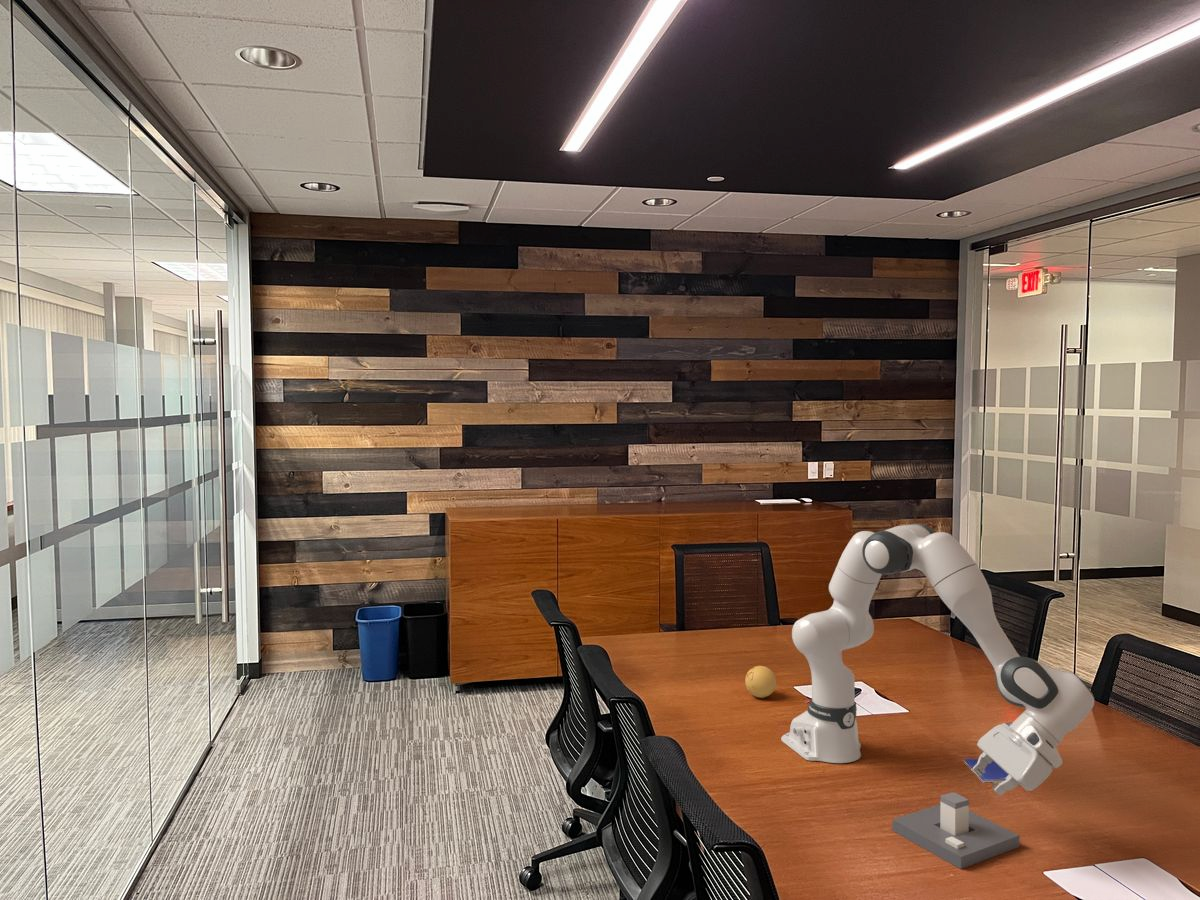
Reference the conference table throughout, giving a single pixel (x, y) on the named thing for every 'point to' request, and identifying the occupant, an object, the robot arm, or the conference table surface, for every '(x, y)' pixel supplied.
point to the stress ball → (760, 681)
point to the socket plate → (961, 849)
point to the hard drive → (989, 771)
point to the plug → (954, 814)
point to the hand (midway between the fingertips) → (985, 782)
